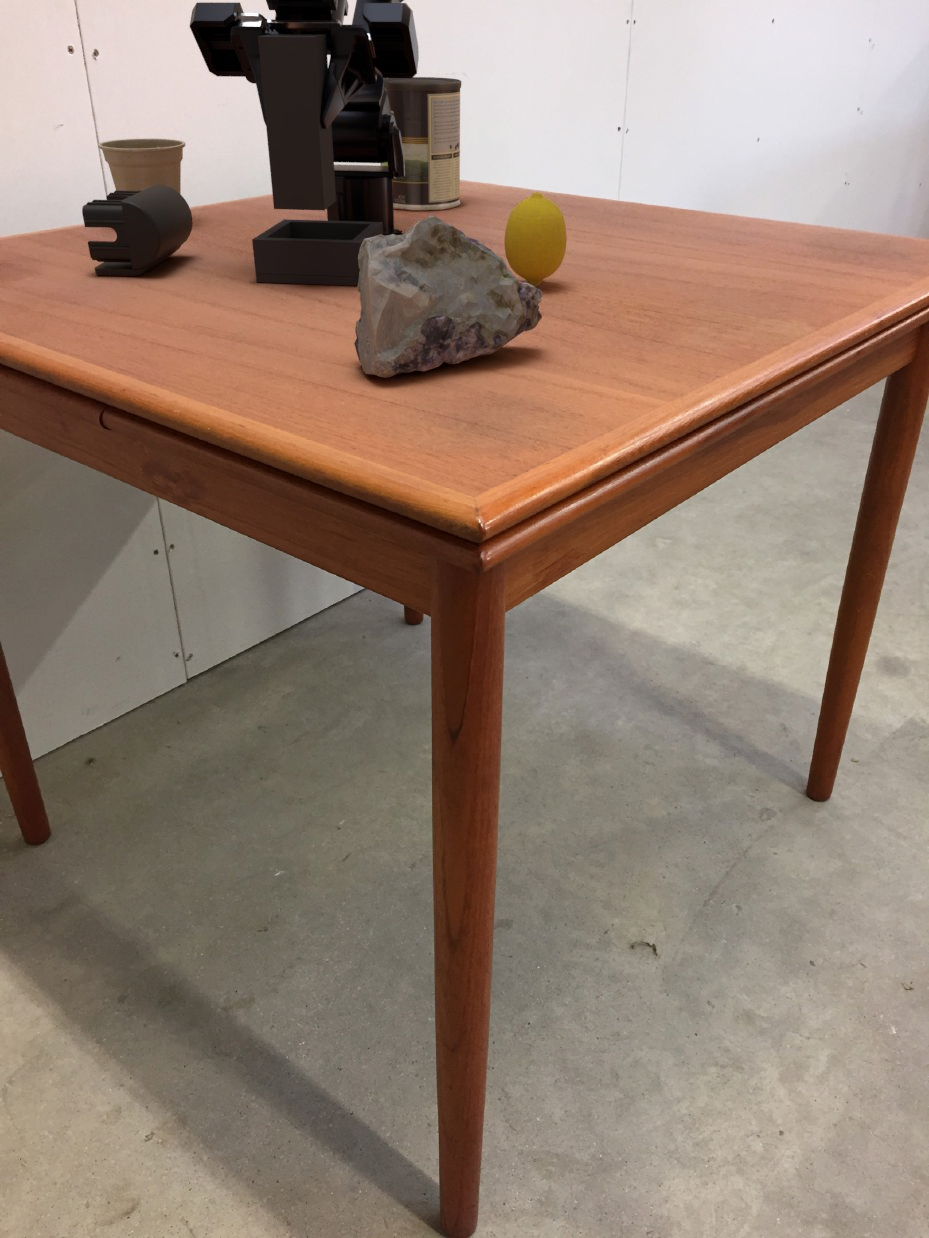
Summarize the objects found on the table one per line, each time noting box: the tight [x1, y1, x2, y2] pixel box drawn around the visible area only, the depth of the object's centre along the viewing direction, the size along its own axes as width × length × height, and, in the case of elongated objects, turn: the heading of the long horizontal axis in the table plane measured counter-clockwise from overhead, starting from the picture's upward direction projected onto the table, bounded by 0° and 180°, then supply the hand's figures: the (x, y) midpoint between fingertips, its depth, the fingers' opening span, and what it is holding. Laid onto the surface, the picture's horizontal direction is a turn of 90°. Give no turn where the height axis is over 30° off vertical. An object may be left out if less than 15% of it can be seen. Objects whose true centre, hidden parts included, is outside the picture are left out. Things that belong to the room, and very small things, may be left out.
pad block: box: [258, 34, 336, 211], centre depth 85 cm, size 4×4×13 cm
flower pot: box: [97, 137, 186, 195], centre depth 114 cm, size 9×9×9 cm
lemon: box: [504, 191, 568, 287], centre depth 90 cm, size 6×6×8 cm
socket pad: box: [251, 218, 383, 287], centre depth 95 cm, size 10×10×4 cm
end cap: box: [81, 184, 194, 277], centre depth 97 cm, size 10×7×7 cm
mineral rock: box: [353, 215, 544, 378], centre depth 69 cm, size 13×11×10 cm
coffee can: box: [380, 76, 462, 212], centre depth 125 cm, size 10×10×14 cm
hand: (294, 125), depth 84 cm, fingers closed on pad block, 4 cm apart
